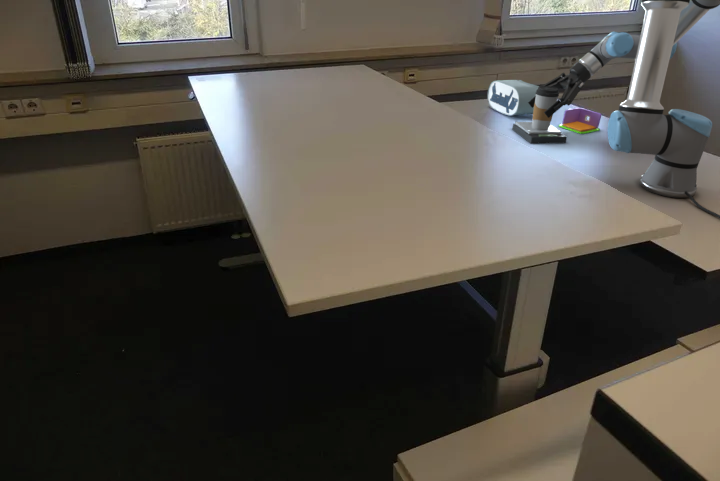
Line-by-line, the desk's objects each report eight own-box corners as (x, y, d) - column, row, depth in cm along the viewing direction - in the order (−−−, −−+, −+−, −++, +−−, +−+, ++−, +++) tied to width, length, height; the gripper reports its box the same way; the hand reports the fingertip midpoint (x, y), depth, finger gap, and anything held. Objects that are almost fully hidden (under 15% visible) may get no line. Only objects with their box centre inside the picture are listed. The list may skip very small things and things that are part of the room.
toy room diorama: (575, 122, 222) (579, 106, 218) (600, 130, 213) (605, 113, 210) (557, 126, 216) (560, 109, 213) (581, 134, 207) (586, 117, 204)
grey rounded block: (485, 106, 238) (489, 77, 232) (519, 104, 245) (524, 75, 239) (515, 120, 221) (521, 89, 214) (551, 117, 227) (558, 87, 221)
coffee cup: (552, 132, 198) (561, 91, 190) (529, 130, 199) (537, 89, 192) (550, 125, 205) (558, 86, 197) (528, 123, 206) (535, 84, 199)
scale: (565, 143, 197) (567, 134, 196) (530, 143, 195) (532, 135, 194) (545, 129, 212) (546, 121, 210) (512, 129, 210) (513, 121, 208)
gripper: (608, 84, 184) (558, 126, 189) (572, 69, 206) (528, 107, 211) (598, 68, 181) (548, 112, 186) (563, 55, 202) (518, 94, 207)
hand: (537, 110), depth 198 cm, fingers open, 13 cm apart
